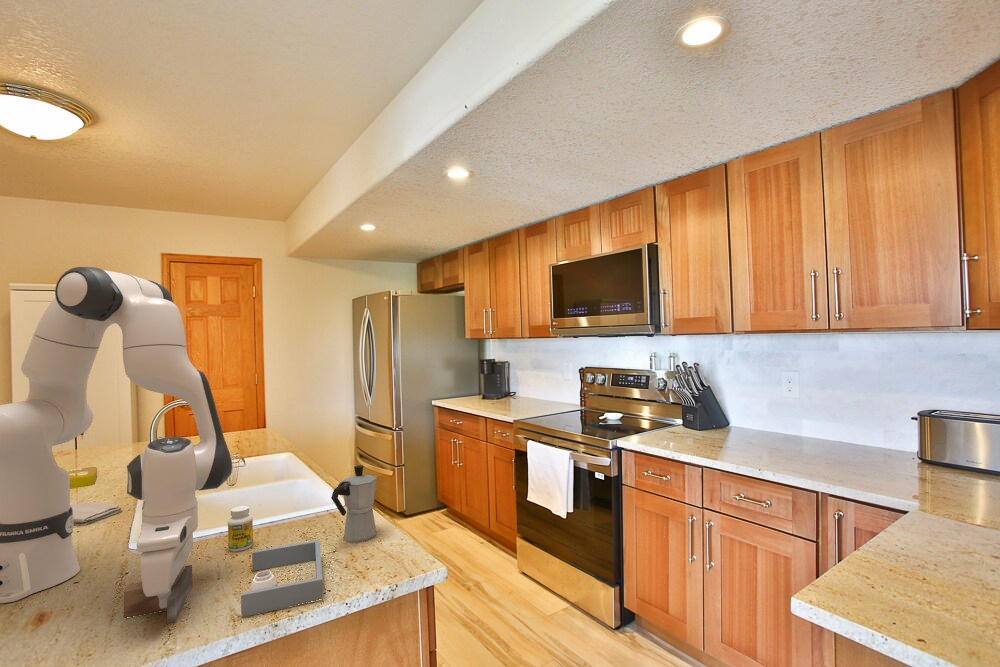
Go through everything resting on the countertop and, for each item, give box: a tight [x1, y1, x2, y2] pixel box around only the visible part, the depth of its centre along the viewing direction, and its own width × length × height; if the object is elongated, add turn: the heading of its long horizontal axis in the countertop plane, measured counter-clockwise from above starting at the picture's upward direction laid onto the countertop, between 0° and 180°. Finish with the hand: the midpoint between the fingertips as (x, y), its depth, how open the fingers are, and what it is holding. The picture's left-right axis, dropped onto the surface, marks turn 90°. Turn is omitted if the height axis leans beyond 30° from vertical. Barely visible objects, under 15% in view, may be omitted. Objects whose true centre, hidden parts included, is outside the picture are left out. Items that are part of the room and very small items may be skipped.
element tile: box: [65, 466, 98, 490], centre depth 174 cm, size 15×15×5 cm
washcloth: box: [70, 501, 123, 527], centre depth 140 cm, size 12×18×3 cm, turn 81°
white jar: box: [249, 570, 278, 591], centre depth 97 cm, size 5×3×5 cm
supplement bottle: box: [227, 505, 254, 553], centre depth 117 cm, size 5×5×10 cm
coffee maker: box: [331, 464, 378, 544], centre depth 122 cm, size 15×9×18 cm, turn 149°
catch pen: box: [240, 539, 324, 618], centre depth 99 cm, size 14×20×4 cm
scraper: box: [123, 564, 194, 625], centre depth 90 cm, size 9×14×5 cm, turn 22°
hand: (171, 595), depth 91 cm, fingers open, 6 cm apart
